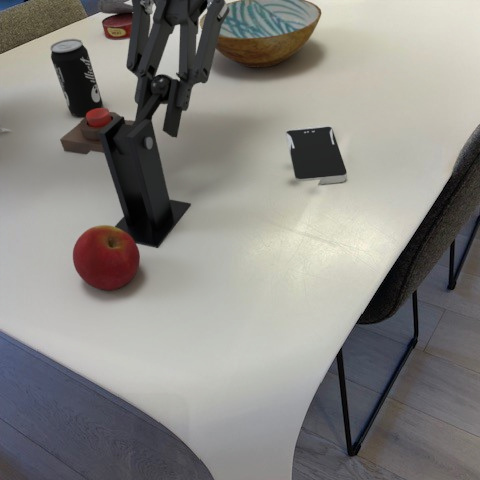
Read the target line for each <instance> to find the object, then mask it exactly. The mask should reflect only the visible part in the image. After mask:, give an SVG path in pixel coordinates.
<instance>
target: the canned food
mask: <svg viewBox="0 0 480 480" xmlns="http://www.w3.org/2000/svg"><path fill="white" fill-rule="evenodd" d="M96 6H97V7H96V8H97V11H98V12H99V13H102V14H105V15H106V14H107V15H109V16H107V17H105V18H104V19H102V21H101V25H102V29H103V33H104V36H105V38H107V39H109V40H114V41H115V40H117V41H118V40H126V39H130V34H131V26H132V19H133V5H132V4H128V3H126V2H123V1H118V0H99V1H98V2H97V5H96Z"/></svg>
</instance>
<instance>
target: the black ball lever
mask: <svg viewBox="0 0 480 480" xmlns="http://www.w3.org/2000/svg"><path fill="white" fill-rule="evenodd" d="M172 79H173V78H172V77H171V76H170V75H168V74H165V73H160V74H156V75H155V77H154V78H153V79H152V81H151V83H150V88H149V90H150V94H151V98H150V99H149V101H148V102H147V104H146V105H145V106H144V108H143V109H142V111H141V112H140V114H139V115H138V117H137V118H136V117H135V118H136V119H134V120H133V121H134V122H133V124H132V125H128V124H123V125H122V126H121V128H120V129H119V130H118V132H117V133H116V135H115V136H114V137H113V141H114V143H115V145H116V147H117V150H118V152H119V154H120V155H127V156H131V152H130V148H129V145H128V141H127V136H128V135H129V134H130V133H131V132H132V131H133V130H134V129H135V128H136V127H137V126H138V125H139V124H140V123H142V122H143V121H144V120H145V119H147V120H150V119H151V117H152V118H153V116H154V115H155V113H156V112H157V110H158V109H159V107H160V105H167V104H168V98H169V93H170V88H171V82H172Z"/></svg>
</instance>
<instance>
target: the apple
mask: <svg viewBox="0 0 480 480" xmlns="http://www.w3.org/2000/svg"><path fill="white" fill-rule="evenodd" d="M140 254H141V253H140V249H139V247H138V245H137V243H135V242H134V240H133V238H132V237H131V236H130V235H129V234H128V233H126V232H125V231H123V230H121V229H119V228H117V227H115V226H114V225H108V224H106V225H105V224H103V225H95V226H92V227H90V228H88V229H86V230H85V231H84V232H83V233H82V234H81V235H80V236H79V237H78V238H77V240H76V241H75V243H74V246H73V249H72V261H73V266H74V269H75V271H76V273H77V274H78V275H79V277H80V278H81V279H82V280H83V281H84V282H85V283H86V284H87V285H89V286H90V287H93V288H95V289H97V290H98V289H99V290H104V291H116V290H118V289H120V288H122V287H124V286H125V285H127V284H128V283H130V282H131V280H133V278H134V277H135V275H136V274H137V272H138V269H139V266H140V261H141V260H140V259H141V255H140Z"/></svg>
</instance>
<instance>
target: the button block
mask: <svg viewBox="0 0 480 480" xmlns="http://www.w3.org/2000/svg"><path fill="white" fill-rule="evenodd" d="M109 112H110V115H111V119H112V120H113V119H114V118H115V117H116V116H121V115H120V114H118V113H117V112H115V111H109ZM134 121H135V120H130V119H129V120H128V119H125V123H126V124H128V125H132V124H133V122H134ZM105 126H106V125H105ZM105 126H103V127H96V128H95V127H90V126H89V124H88V121H87V118H86V117H83V118H82V119H81V120H80V122H79V123H78V124H77V125H75V126H74V127H73V128H72V129H71V130H70V131H68V132H67V133H66V134H65V135H63V136H62V137H61V138H60V139H59V141H60V143H61V146H62V148H63V150H64V152H69V153H76V154H81V155H88V154H89V153H90V152H96V153H97V152H98V153H103V154H104V151H103V148H102V144H101V141H100V138H99V135H98V132H99V131H100V130H102V129H103V128H104V127H105Z"/></svg>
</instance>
